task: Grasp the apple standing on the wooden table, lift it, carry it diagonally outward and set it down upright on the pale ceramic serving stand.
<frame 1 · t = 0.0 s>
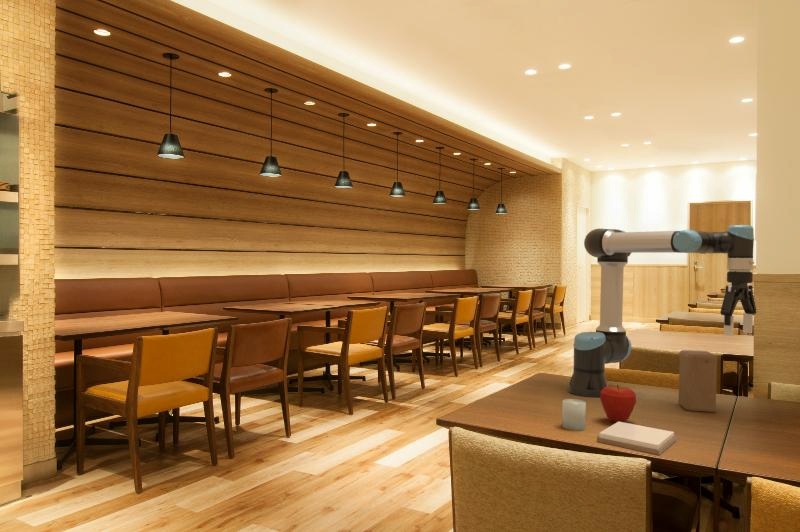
hand: (738, 334, 196), 28 cm above the table, fingers open, 13 cm apart
apple: (617, 422, 188), on the table
white pillar candle: (573, 427, 181), on the table
stand: (636, 441, 168), on the table
wooden block: (696, 409, 207), on the table
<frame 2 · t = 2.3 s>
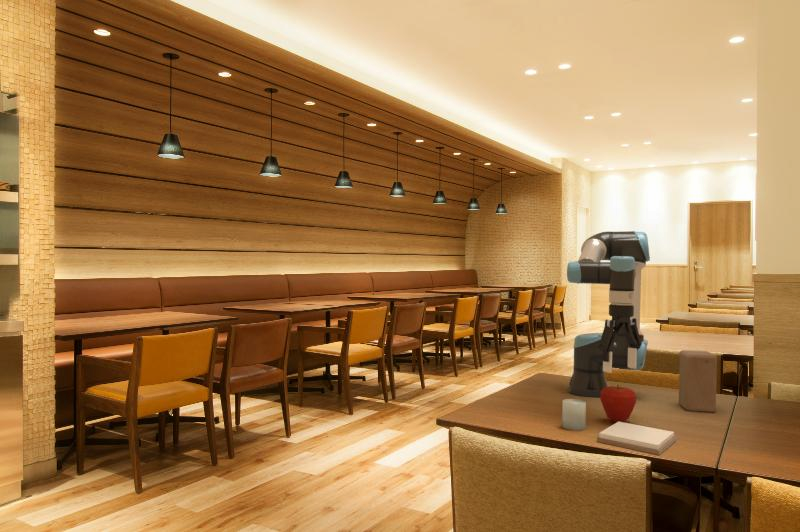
hand: (619, 370, 188), 17 cm above the table, fingers open, 13 cm apart
nothing on the table moved.
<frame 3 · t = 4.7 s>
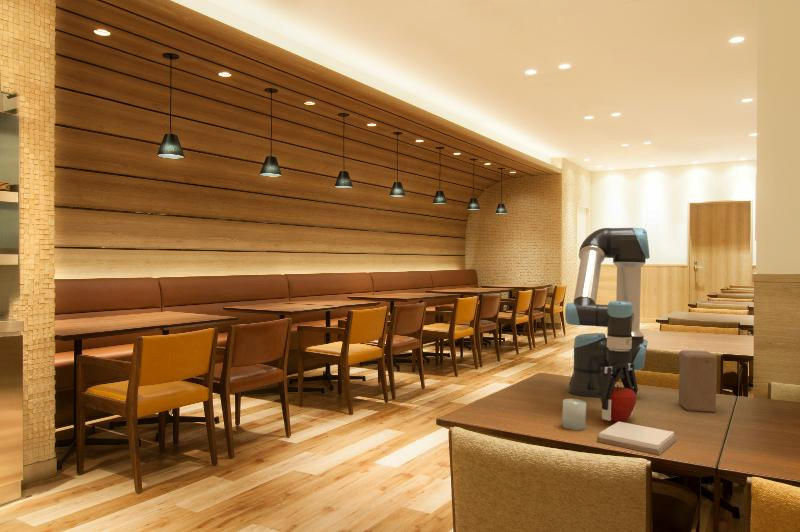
hand: (617, 416, 188), 2 cm above the table, fingers closed on apple, 11 cm apart
apple: (617, 422, 188), on the table, touching gripper
everything else where it was.
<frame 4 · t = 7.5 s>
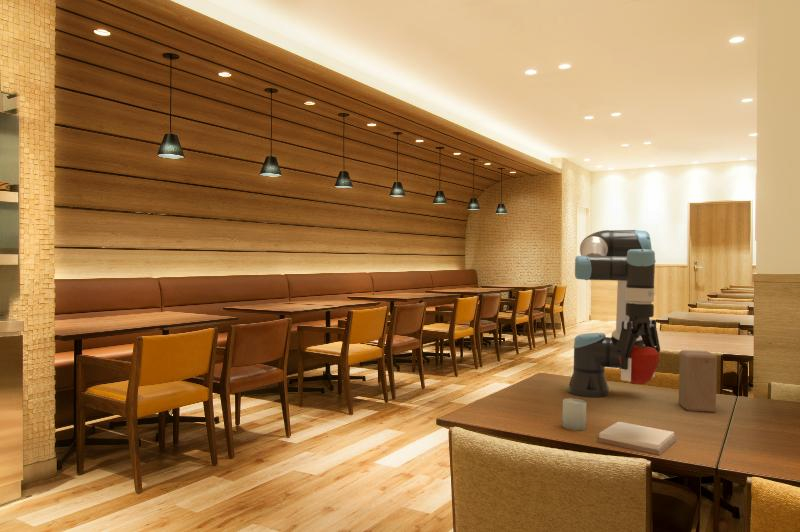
hand: (638, 378, 168), 18 cm above the table, fingers closed on apple, 11 cm apart
apple: (637, 384, 168), point 16 cm above the table, touching gripper
everything else where it was.
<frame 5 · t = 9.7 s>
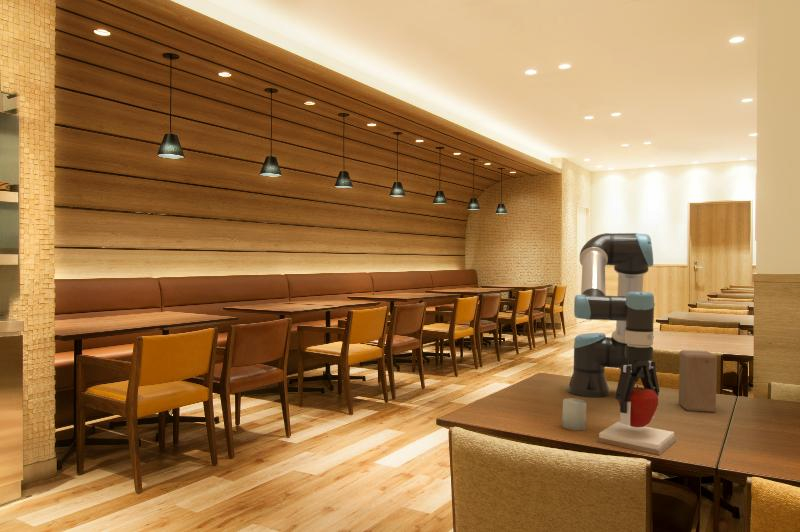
hand: (637, 420, 168), 6 cm above the table, fingers closed on apple, 11 cm apart
apple: (637, 427, 168), point 4 cm above the table, touching gripper
everything else where it was.
when the fingers open (6 cm above the table, at t = 10.8 s): apple drops 1 cm, resting on stand.
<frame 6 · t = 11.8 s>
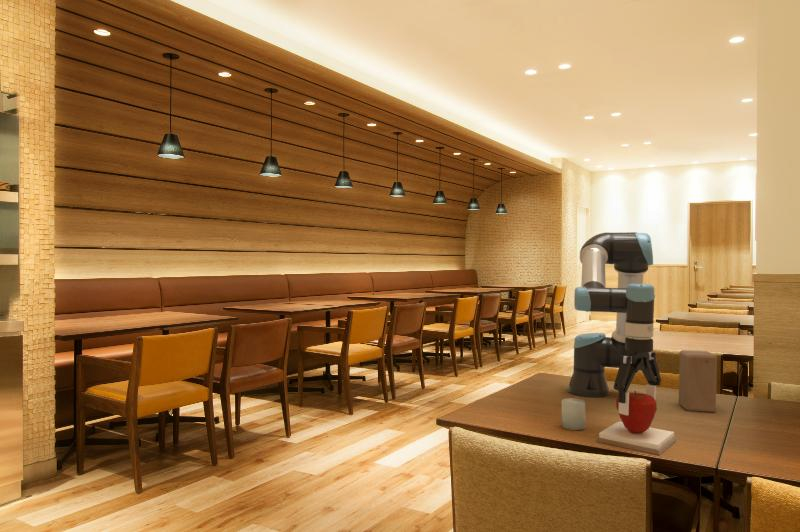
hand: (637, 410, 168), 9 cm above the table, fingers open, 13 cm apart
apple: (636, 433, 168), point 2 cm above the table, touching stand
everything else where it was.
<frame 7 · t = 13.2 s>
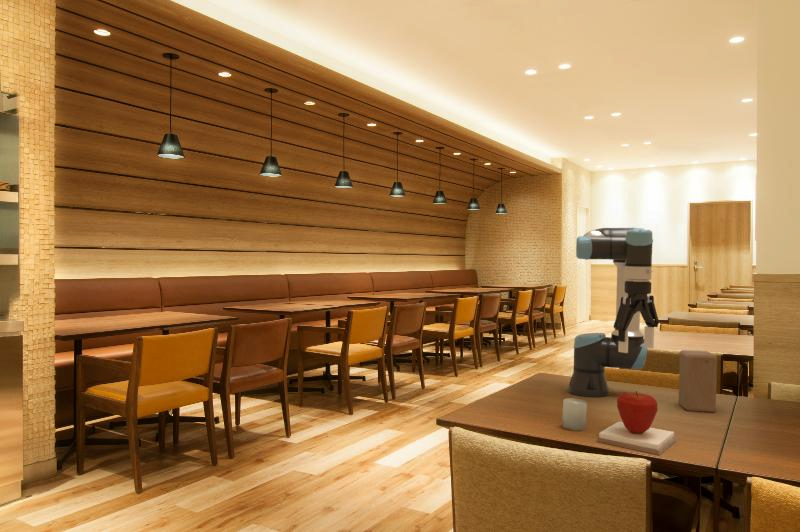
hand: (636, 350, 177), 25 cm above the table, fingers open, 13 cm apart
nothing on the table moved.
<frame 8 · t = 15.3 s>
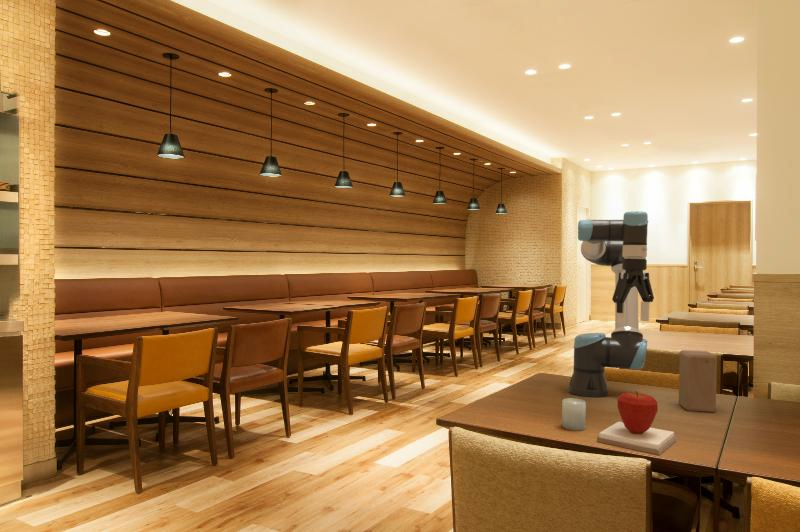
hand: (633, 322, 194), 32 cm above the table, fingers open, 13 cm apart
nothing on the table moved.
at the end: apple inside the target area on the stand (0.2 cm from its centre), point 2.3 cm above the stand's base; the gripper is holding nothing; white pillar candle moved 0.2 cm from its start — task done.
